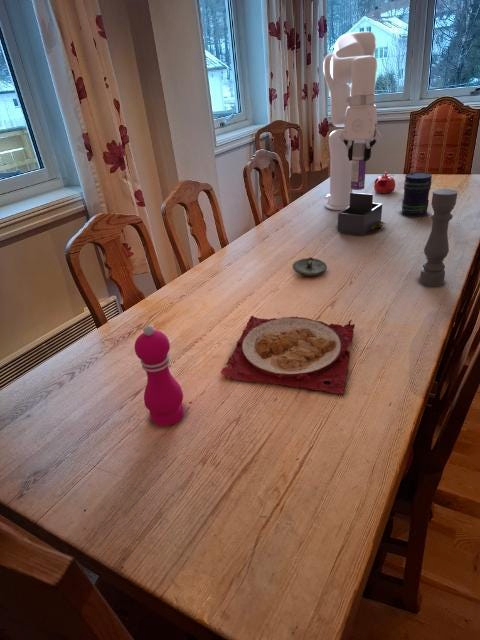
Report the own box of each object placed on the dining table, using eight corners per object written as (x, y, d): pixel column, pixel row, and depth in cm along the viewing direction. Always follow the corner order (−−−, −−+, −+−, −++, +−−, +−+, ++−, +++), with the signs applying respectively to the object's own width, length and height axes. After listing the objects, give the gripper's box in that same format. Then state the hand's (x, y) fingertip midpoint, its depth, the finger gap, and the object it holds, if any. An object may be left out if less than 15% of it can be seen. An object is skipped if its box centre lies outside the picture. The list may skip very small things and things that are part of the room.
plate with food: (251, 322, 110) (250, 310, 108) (354, 329, 102) (355, 316, 100) (219, 380, 91) (217, 367, 89) (343, 394, 83) (343, 380, 81)
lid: (305, 266, 140) (301, 252, 138) (332, 264, 134) (329, 249, 132) (289, 280, 133) (285, 266, 131) (317, 279, 127) (313, 263, 125)
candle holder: (442, 277, 122) (457, 188, 109) (444, 287, 117) (459, 195, 104) (419, 276, 124) (431, 188, 111) (419, 285, 119) (432, 195, 106)
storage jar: (432, 212, 172) (437, 174, 164) (416, 218, 167) (421, 179, 160) (411, 208, 179) (415, 171, 172) (395, 213, 175) (399, 176, 167)
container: (363, 186, 154) (365, 141, 146) (365, 189, 150) (368, 143, 142) (349, 187, 155) (351, 142, 147) (351, 190, 151) (353, 145, 143)
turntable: (329, 228, 166) (329, 227, 166) (357, 218, 173) (357, 217, 173) (362, 238, 154) (362, 237, 154) (390, 226, 162) (390, 225, 162)
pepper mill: (150, 404, 85) (129, 318, 75) (186, 400, 85) (170, 313, 75) (146, 430, 79) (123, 340, 69) (186, 425, 79) (167, 334, 69)
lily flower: (383, 220, 168) (384, 208, 166) (389, 230, 158) (391, 218, 156) (352, 221, 170) (353, 210, 168) (356, 232, 160) (357, 220, 157)
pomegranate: (386, 188, 210) (388, 168, 205) (399, 192, 201) (401, 171, 197) (368, 191, 207) (370, 171, 203) (381, 195, 199) (382, 175, 194)
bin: (356, 218, 172) (358, 187, 166) (380, 221, 166) (383, 189, 160) (337, 231, 161) (338, 198, 155) (362, 235, 155) (365, 200, 149)
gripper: (332, 103, 140) (331, 161, 149) (384, 101, 131) (380, 163, 141) (341, 101, 145) (339, 157, 154) (392, 98, 137) (387, 158, 146)
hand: (359, 159), depth 147 cm, fingers closed on container, 4 cm apart
